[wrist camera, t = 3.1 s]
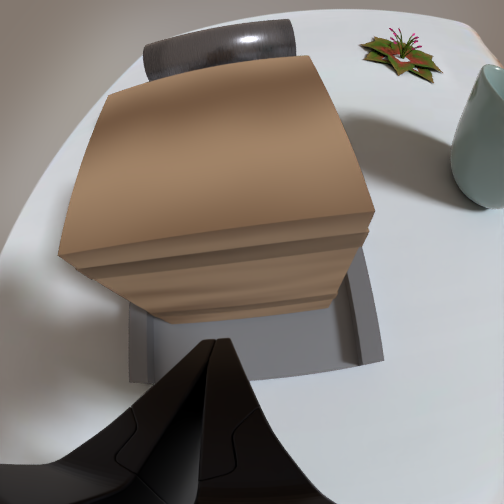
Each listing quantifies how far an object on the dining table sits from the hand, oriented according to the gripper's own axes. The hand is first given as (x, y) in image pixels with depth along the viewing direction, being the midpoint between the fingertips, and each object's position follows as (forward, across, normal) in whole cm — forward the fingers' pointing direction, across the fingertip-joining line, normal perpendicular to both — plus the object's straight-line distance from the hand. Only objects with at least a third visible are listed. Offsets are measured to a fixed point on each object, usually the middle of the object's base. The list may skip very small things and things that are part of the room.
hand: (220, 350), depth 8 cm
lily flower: (+29, -22, -16) cm, 40 cm away
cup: (+14, -20, -1) cm, 24 cm away
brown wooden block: (+10, 0, +1) cm, 10 cm away
